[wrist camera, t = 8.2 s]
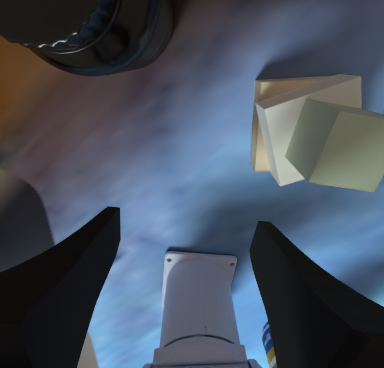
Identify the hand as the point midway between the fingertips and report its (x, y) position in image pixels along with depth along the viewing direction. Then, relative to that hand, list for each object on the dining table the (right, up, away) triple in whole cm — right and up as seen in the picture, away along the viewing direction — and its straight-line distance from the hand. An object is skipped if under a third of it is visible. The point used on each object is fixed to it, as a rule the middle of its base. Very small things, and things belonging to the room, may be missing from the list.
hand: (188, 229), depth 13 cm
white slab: (+9, +7, +6) cm, 13 cm away
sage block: (+9, +6, +4) cm, 12 cm away
